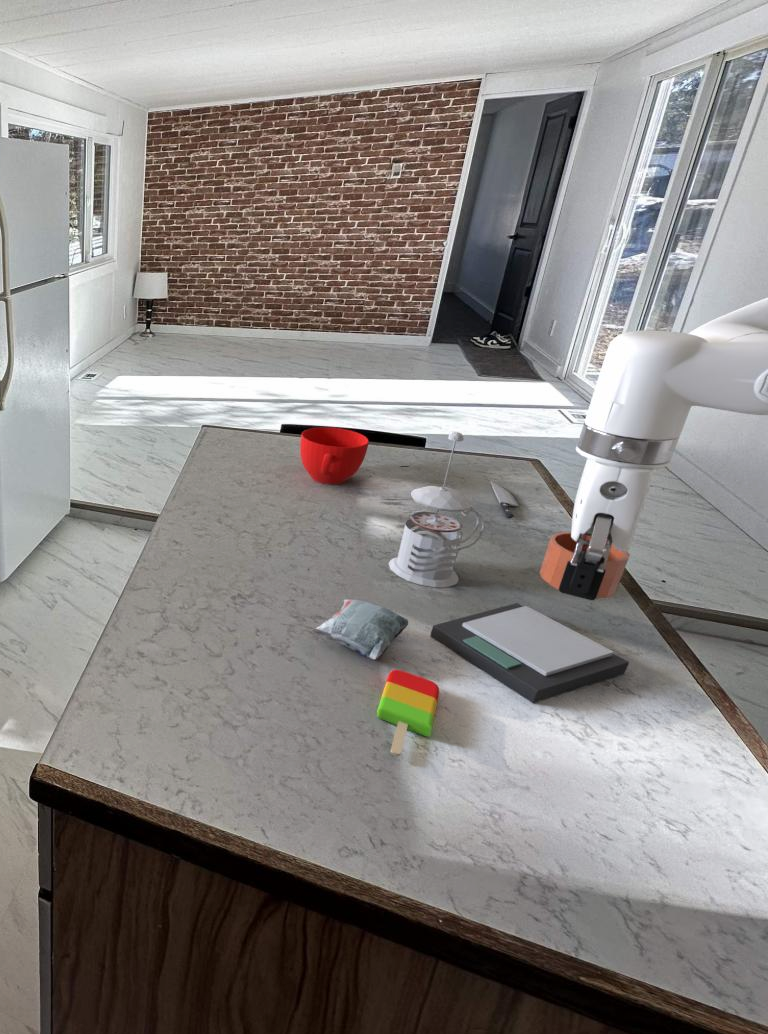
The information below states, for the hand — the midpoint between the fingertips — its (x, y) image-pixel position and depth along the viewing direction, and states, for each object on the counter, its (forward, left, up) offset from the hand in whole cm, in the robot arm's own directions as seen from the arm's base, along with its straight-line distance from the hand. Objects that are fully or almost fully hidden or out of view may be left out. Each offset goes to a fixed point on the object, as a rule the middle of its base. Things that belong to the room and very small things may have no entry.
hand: (577, 579), depth 77 cm
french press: (-10, -25, -16) cm, 31 cm away
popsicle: (+22, -1, -16) cm, 27 cm away
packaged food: (+15, -15, -16) cm, 26 cm away
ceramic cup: (-22, -60, -16) cm, 66 cm away
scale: (-3, -5, -16) cm, 17 cm away
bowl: (0, 0, -1) cm, 1 cm away
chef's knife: (-47, -39, -16) cm, 62 cm away
